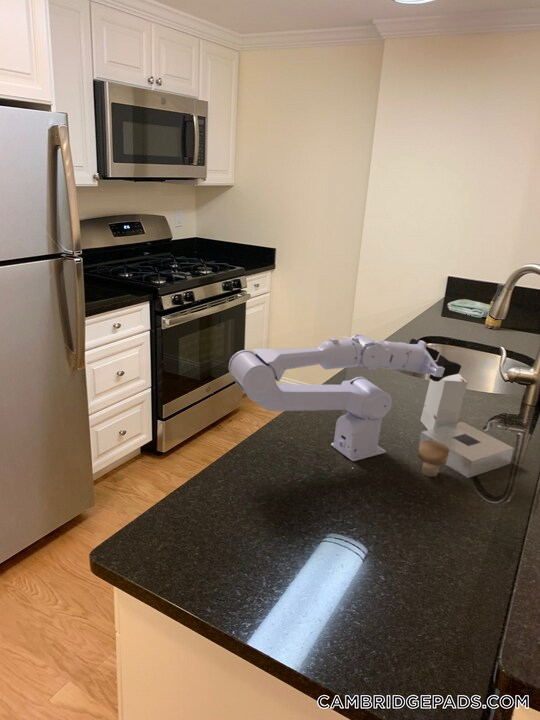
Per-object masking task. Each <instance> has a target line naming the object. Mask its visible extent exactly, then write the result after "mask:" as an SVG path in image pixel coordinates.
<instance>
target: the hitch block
mask: <svg viewBox="0 0 540 720" xmlns="http://www.w3.org/2000/svg"><path fill="white" fill-rule="evenodd" d="M428 440H429V441H436V442H440V443H442V444H444V445H446V446H447V447H448V448H449V454H448V459H447V463H446V464H445V465H446V466H447V467H449V468H451V469H452V470H454V471H456V472H457V473H459V474H461V475H462V476H463V477H466V478H467V479H469V478H472V477H474V476H475V477H476V476H479V475H481V474H484V473H487V472H491V471H493V470H496V469H499V468H502V467H504V466H508V465H511V461H512V457H513V453H514V451H515V450H514V449H515V448H514V447H512V446H511V445H509V444H507V443H506V442H503V441H501V440H499V439H497V438H495V437H493V436H491V435H490V434H488V433H486V432H483V431H482V430H479V429H477V428H476V427H473V426H471V425H470V424H467V423H466V422H464V421H460V422H459V421H458V422H457V423H455V424H451V425H447V426H443V427H439V428H435V429H431V430H428V429H427V430H423V431H421V432H420V436H419V442H418V447H417V448H418V449H419V448H420V443H421V442H423V441H428Z"/></svg>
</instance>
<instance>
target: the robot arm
mask: <svg viewBox="0 0 540 720" xmlns="http://www.w3.org/2000/svg"><path fill="white" fill-rule="evenodd" d="M318 365H319V366H320V367H322V368H323V369H324V370H335V369H336V370H337V369H346V368H355V367H357V366H361V367H362V368H364V369H367V370H368V371H373V370H376V369H379V368H381V369H389V370H390V369H391V370H399V371H408V372H413V373H417V374H424V375H426V374H427V375H429V376H428V378H429V380H430V379H431V380H433V381H440V380H441V379H443V378H445V377H447V376H451V375H456V374H460V372H461V368H462V365H461V364H460V363H457V362H455V361H451V360H449V359H448V358H446V357H445V356H443V355H442V354H440V351H439V350H436V349H434V348H432V347H429V346H427V342H425V341H424V340H418V339H416V338H411V339H410V341H409V343H406V342H401V341H398V342H396V341H395V342H394V341H389V340H379V339H378V340H376V339H370V338H369V337H368V336H365V335H362V334H354V335H353V336H351V337H349V339H338V338H336V337H330V338H329V340H325V341H322V342H321V343H320V344H319V345H318V346H317V347H300V348H298V347H297V348H296V347H295V348H263V347H262V348H261V347H258V348H253V349H252V350H250V349H249V350H248V349H242V350H239V351H237V352H235V353H234V354H233V355H232V356H231V357H230V359H229V362H228V371H229V374H230V375H231V377H232V379H233V380H234V381H235V383H236V384H237V386H238V387H239V388H240V389H241V390H242V391H243V393H245V394H246V396H247V397H248V399H249V400H250V401H253V402H254V403H255V404H257V405H259V406H260V407H262V408H263V409H264V410H265V411H268V412H290V411H291V412H292V411H295V412H296V411H297V412H298V411H340V410H341V411H342V410H343V411H347V412H346V413H345V414H344V415H341V416H339V417H338V418H337V420H336V423H335V430H334V437H333V442H331V443H330V445H331V446H332V447H333V448H334V449H336V450H337V451H338V452H339V453H341V454H342V455H343V456H345V457H347V458H348V459H349V460H351V462H357V461H359V460H364V459H367V458H370V457H371V458H372V457H375V456H378V455H382V454H385V453H386V450H385V449H383V447H381V446H379V445H378V444H379V441H380V440H379V439H380V432H381V426H382V421H383V420H382V419H384V418H385V416H387V414H388V413H389V412H390V410H391V408H392V405H393V399H392V396H391V395H390V394H389V393H388V392H386V391H384V390H382V389H381V388H379V387H378V386H377V385H375V384H374V383H372V382H371V381H370V380H368V379H367V378H366V377H364V376H357V377H353V378H352V379H349V380H343V381H342V382H341V384H287V383H286V384H283V383H282V384H277V382H280V381H281V379H282V377H283V375H284V374H285V372H286V371H287V370H292V369H298V368H306V367H310V366H311V367H312V366H318Z"/></svg>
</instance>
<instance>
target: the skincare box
mask: <svg viewBox="0 0 540 720" xmlns="http://www.w3.org/2000/svg"><path fill="white" fill-rule="evenodd" d="M467 386H468V382H467V380H466V379H465V378H464V377H463V376H462V375H461V374H460V373H459V374H456V375H451V376H447V377H445V378H443V379H441V380H440V381H433V380H431V379H430V378H429V383H428V388H427V391H426V396H425V399H424V404H423V409H422V413H421V417H420V422H421V423H422V424H423V426H424V427H425V428H426V429H427V430H431V429H435V428H439V427H443V426H447V425H451V424H455V423H459V421H458V420H459V417H460V413H461V409H462V405H463V402H464V398H465V394H466V391H467Z"/></svg>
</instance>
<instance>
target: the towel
mask: <svg viewBox="0 0 540 720" xmlns="http://www.w3.org/2000/svg"><path fill="white" fill-rule="evenodd" d="M489 307H490V304H487V303H484V302H480V301H475V300H471V299H466V298H464V299H462V298H461V299H457V300H454V301H450V302H448V303H447V308H448V310H449V311H451V312H456V313H460V314H463V315H466V314H467V315H466V316H470V315H471V316H470V317H475V318H480V319H483V318H482V317H484V318H487V314H488V311H489Z"/></svg>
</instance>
